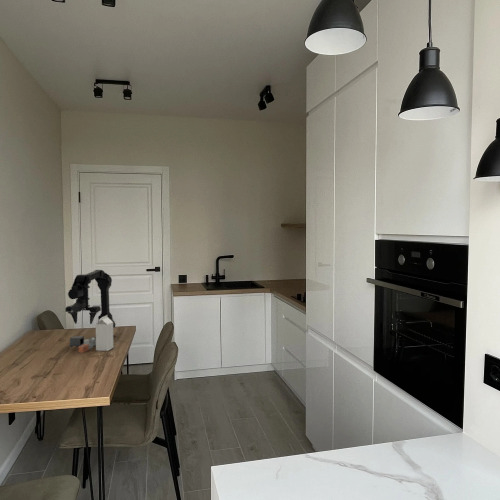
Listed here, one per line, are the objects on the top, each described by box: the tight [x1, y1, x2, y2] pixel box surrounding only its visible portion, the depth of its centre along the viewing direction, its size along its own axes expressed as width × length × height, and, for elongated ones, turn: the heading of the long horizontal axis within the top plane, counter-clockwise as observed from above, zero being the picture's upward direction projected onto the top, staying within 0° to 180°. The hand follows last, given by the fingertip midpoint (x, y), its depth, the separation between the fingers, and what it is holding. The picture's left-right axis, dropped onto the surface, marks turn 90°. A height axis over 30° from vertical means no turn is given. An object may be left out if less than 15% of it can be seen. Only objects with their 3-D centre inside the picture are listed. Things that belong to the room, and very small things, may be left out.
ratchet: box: [78, 336, 96, 354], centre depth 233 cm, size 16×8×5 cm, turn 173°
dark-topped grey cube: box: [69, 335, 85, 348], centre depth 239 cm, size 5×6×5 cm
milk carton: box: [95, 315, 114, 352], centre depth 231 cm, size 7×7×19 cm
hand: (83, 323), depth 231 cm, fingers open, 9 cm apart
